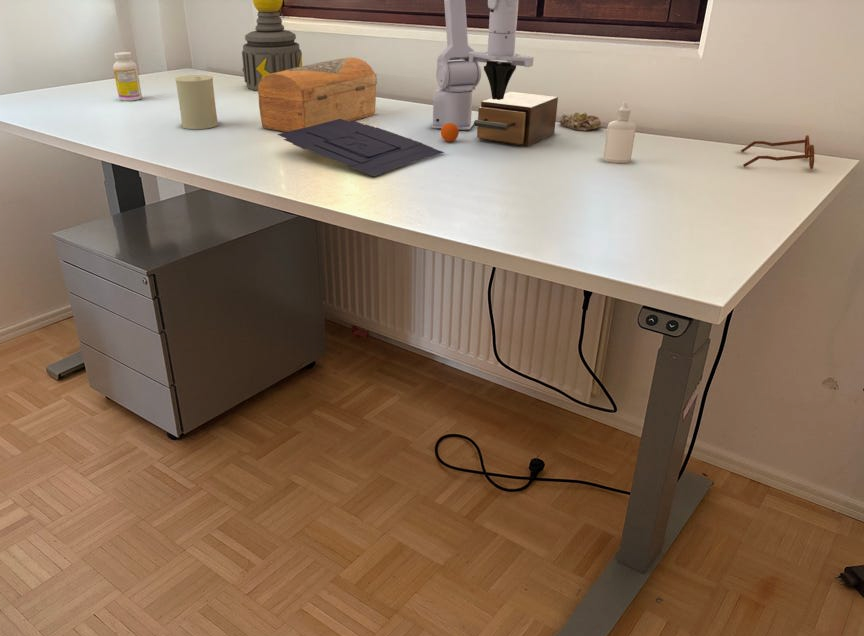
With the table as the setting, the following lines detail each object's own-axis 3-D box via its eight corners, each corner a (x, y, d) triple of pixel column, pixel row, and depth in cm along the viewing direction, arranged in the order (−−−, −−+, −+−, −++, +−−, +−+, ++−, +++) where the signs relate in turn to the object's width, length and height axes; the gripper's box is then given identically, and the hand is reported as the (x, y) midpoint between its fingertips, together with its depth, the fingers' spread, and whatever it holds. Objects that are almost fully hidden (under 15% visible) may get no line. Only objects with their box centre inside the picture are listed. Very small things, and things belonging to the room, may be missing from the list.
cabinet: (527, 146, 169) (531, 107, 165) (478, 139, 175) (481, 101, 171) (554, 134, 179) (558, 96, 175) (507, 127, 186) (510, 91, 181)
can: (192, 131, 185) (186, 80, 179) (175, 125, 191) (168, 75, 185) (225, 125, 190) (219, 75, 184) (207, 119, 196) (201, 71, 190)
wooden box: (331, 107, 208) (328, 54, 201) (378, 114, 200) (378, 59, 193) (255, 127, 187) (250, 69, 180) (305, 136, 179) (302, 75, 172)
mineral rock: (608, 116, 185) (596, 112, 178) (605, 134, 186) (592, 131, 180) (568, 112, 191) (555, 109, 184) (565, 130, 192) (552, 127, 186)
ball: (438, 143, 172) (439, 124, 170) (442, 138, 176) (442, 120, 174) (456, 144, 172) (457, 125, 169) (459, 139, 175) (460, 121, 173)
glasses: (812, 173, 149) (820, 148, 146) (742, 167, 153) (748, 143, 150) (805, 157, 159) (812, 133, 157) (739, 152, 163) (745, 128, 161)
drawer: (511, 148, 164) (513, 117, 160) (466, 141, 170) (467, 111, 166) (546, 132, 177) (549, 102, 173) (503, 126, 183) (505, 97, 179)
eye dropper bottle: (623, 165, 155) (633, 105, 149) (599, 160, 158) (607, 102, 152) (633, 161, 157) (643, 102, 151) (609, 156, 161) (617, 99, 155)
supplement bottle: (125, 96, 225) (117, 51, 218) (145, 97, 224) (138, 51, 217) (115, 101, 219) (106, 54, 213) (136, 101, 218) (128, 54, 212)
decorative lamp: (236, 91, 231) (225, -17, 216) (255, 81, 247) (246, -20, 232) (294, 92, 228) (287, -17, 213) (310, 82, 244) (304, -20, 229)
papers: (345, 128, 180) (346, 113, 178) (443, 164, 165) (446, 148, 163) (270, 148, 164) (270, 131, 162) (371, 189, 149) (373, 172, 147)
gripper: (463, 31, 158) (460, 98, 165) (525, 36, 151) (519, 105, 158) (479, 28, 163) (475, 93, 170) (540, 32, 156) (533, 100, 163)
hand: (497, 98), depth 164 cm, fingers closed
